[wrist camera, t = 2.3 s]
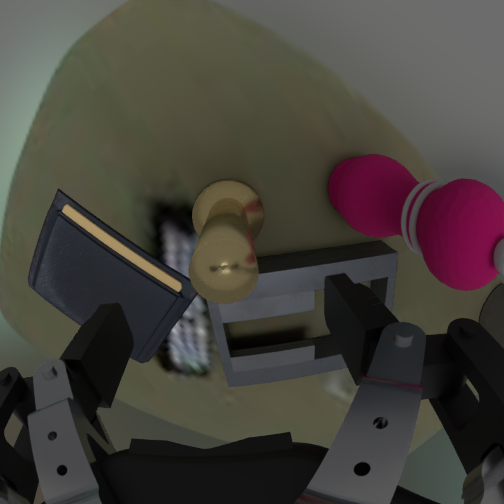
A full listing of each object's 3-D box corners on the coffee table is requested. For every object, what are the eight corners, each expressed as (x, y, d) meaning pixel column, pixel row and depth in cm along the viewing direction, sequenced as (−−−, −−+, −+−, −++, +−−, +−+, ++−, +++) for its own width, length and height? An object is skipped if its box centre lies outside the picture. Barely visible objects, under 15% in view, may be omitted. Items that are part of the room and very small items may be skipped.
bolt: (257, 174, 25) (283, 199, 12) (265, 239, 28) (292, 318, 15) (189, 184, 25) (146, 220, 12) (201, 248, 28) (176, 332, 15)
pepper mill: (324, 149, 25) (498, 167, 6) (388, 157, 25) (558, 195, 7) (320, 221, 27) (451, 348, 9) (381, 223, 28) (524, 321, 9)
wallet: (20, 286, 26) (54, 184, 23) (28, 280, 28) (63, 182, 24) (141, 374, 32) (204, 295, 28) (144, 364, 33) (206, 286, 30)
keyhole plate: (380, 240, 29) (398, 252, 25) (371, 340, 33) (382, 357, 30) (206, 264, 28) (202, 281, 25) (228, 365, 33) (228, 387, 30)
